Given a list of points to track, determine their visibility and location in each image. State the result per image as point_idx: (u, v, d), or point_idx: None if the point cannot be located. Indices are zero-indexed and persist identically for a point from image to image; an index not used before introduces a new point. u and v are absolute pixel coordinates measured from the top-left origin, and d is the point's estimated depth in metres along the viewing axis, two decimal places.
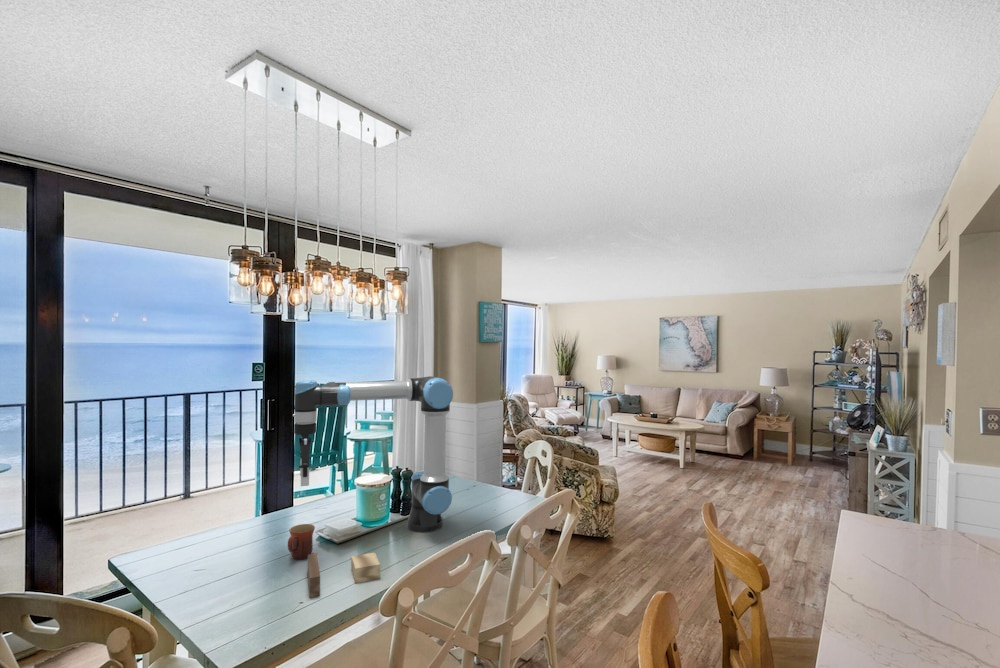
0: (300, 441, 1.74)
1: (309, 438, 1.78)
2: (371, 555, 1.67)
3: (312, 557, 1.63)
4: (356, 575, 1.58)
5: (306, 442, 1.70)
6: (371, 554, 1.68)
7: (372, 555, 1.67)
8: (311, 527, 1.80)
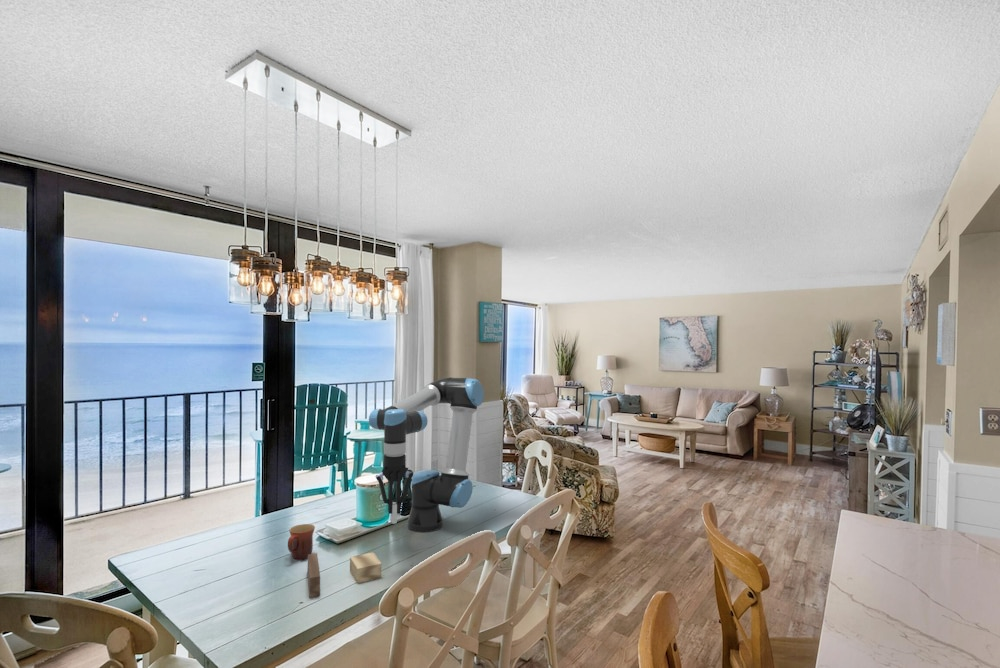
0: None
1: (398, 471, 1.67)
2: (370, 555, 1.67)
3: (312, 557, 1.63)
4: (358, 575, 1.57)
5: None
6: (369, 553, 1.69)
7: (371, 555, 1.67)
8: (311, 527, 1.80)
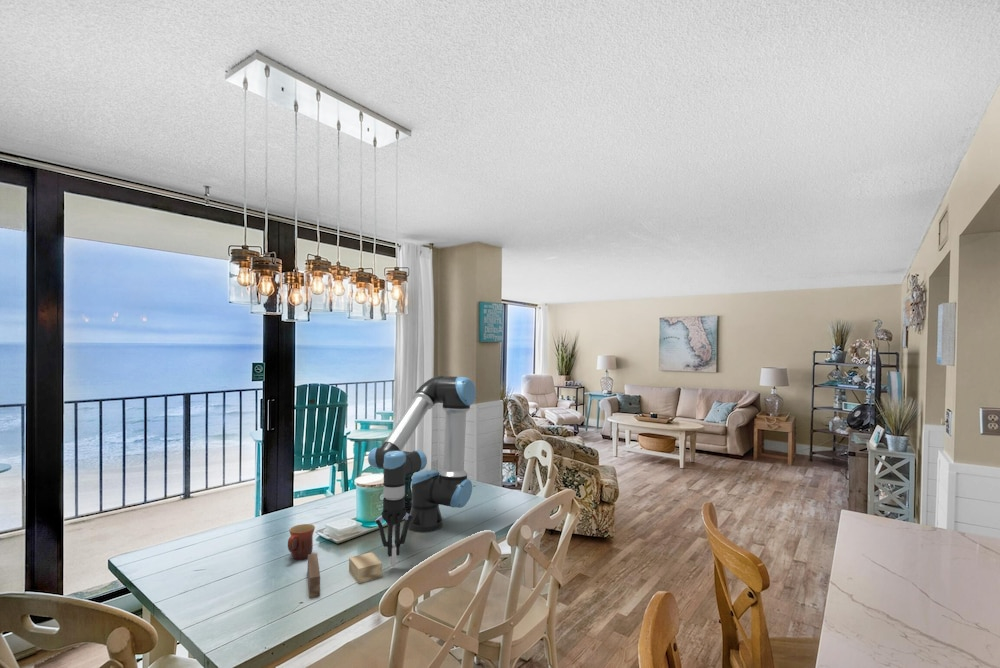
0: None
1: (398, 514, 1.67)
2: (369, 555, 1.67)
3: (312, 557, 1.63)
4: (359, 575, 1.57)
5: (377, 523, 1.65)
6: (368, 553, 1.69)
7: (370, 555, 1.67)
8: (311, 527, 1.80)
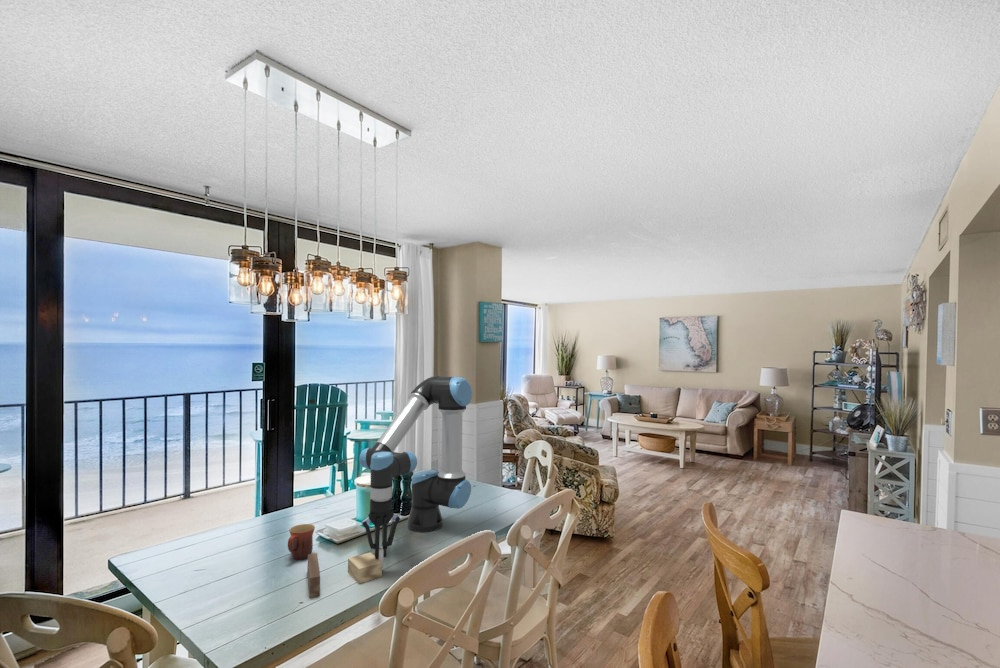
0: None
1: (385, 516, 1.65)
2: (368, 555, 1.67)
3: (312, 557, 1.63)
4: (360, 575, 1.57)
5: None
6: (367, 554, 1.68)
7: (369, 555, 1.67)
8: (311, 527, 1.80)
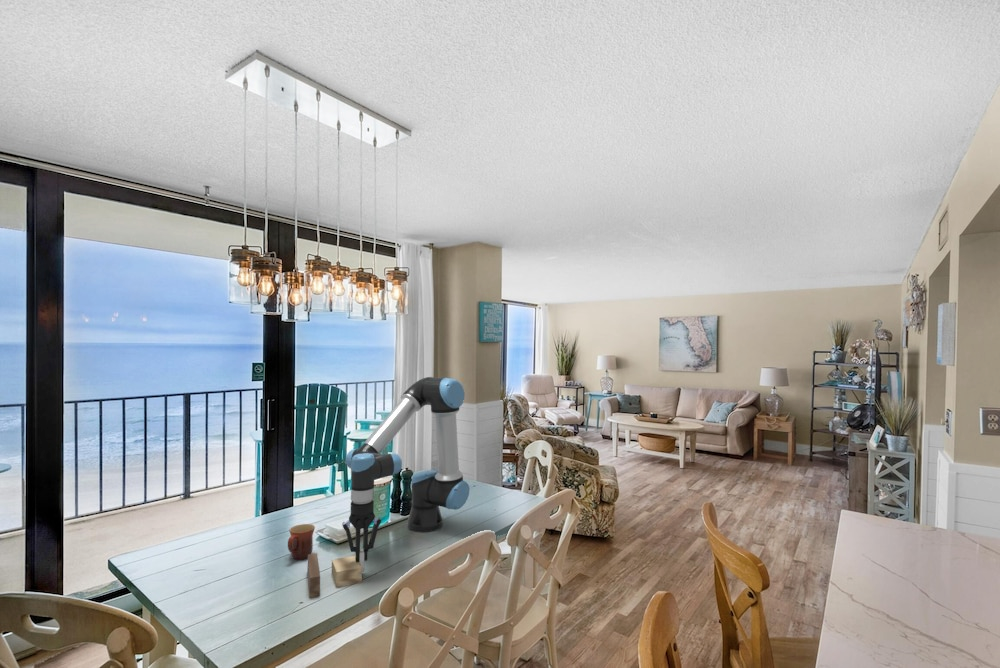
0: None
1: (366, 518, 1.62)
2: (352, 558, 1.65)
3: (312, 557, 1.63)
4: (337, 579, 1.55)
5: (344, 528, 1.61)
6: (352, 556, 1.66)
7: (353, 558, 1.64)
8: (311, 527, 1.80)
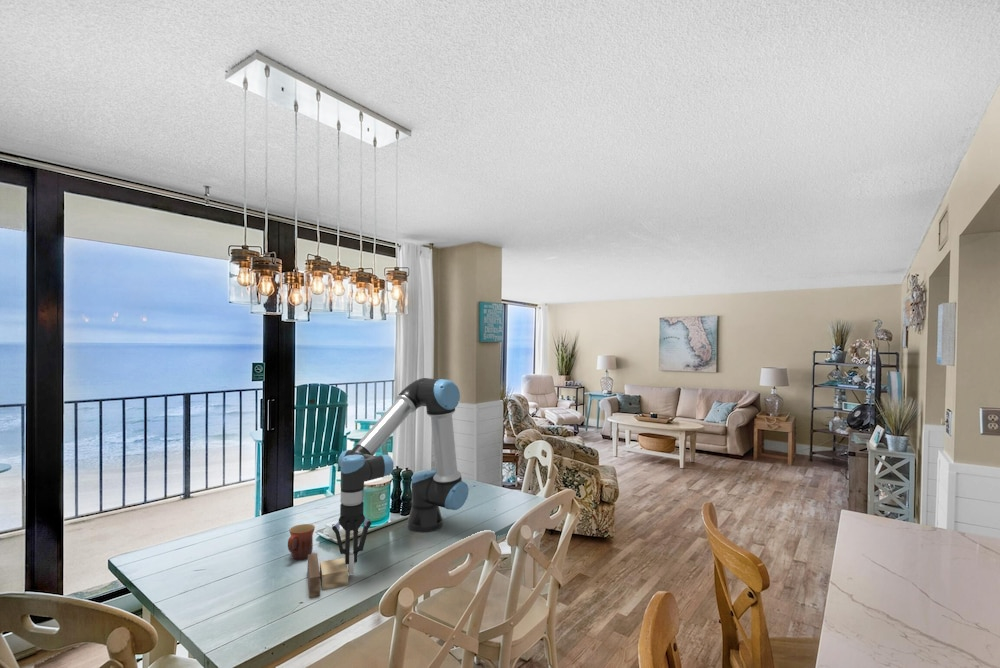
0: None
1: (355, 520, 1.61)
2: (340, 560, 1.63)
3: (312, 557, 1.63)
4: (323, 582, 1.53)
5: None
6: (340, 559, 1.64)
7: (341, 561, 1.63)
8: (311, 527, 1.80)
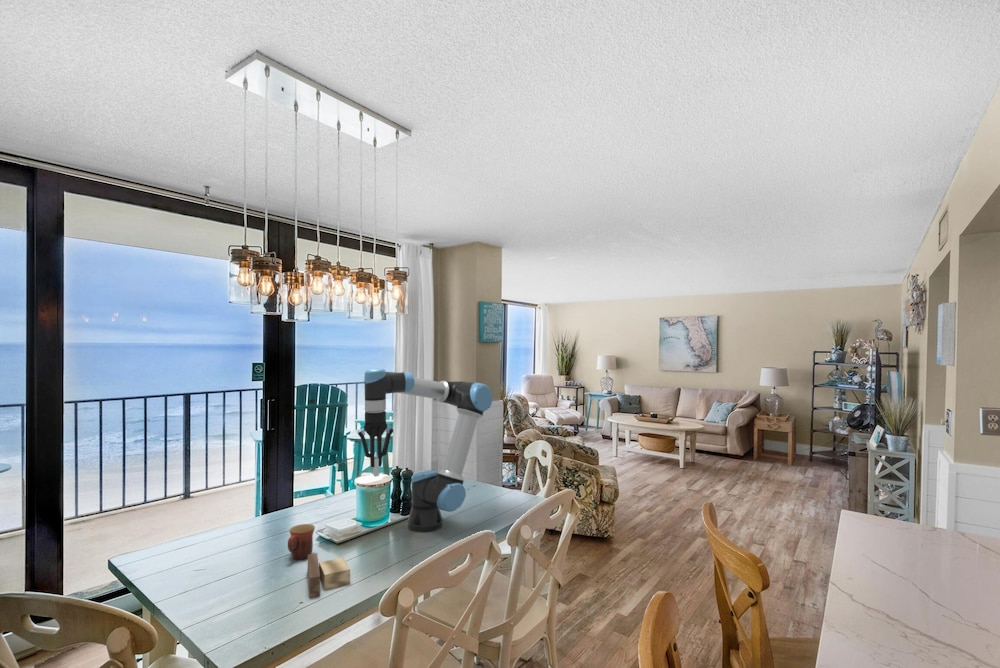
0: None
1: (379, 427, 1.75)
2: (340, 560, 1.63)
3: (312, 557, 1.63)
4: (325, 581, 1.53)
5: (359, 435, 1.74)
6: (340, 559, 1.64)
7: (341, 561, 1.63)
8: (311, 527, 1.80)
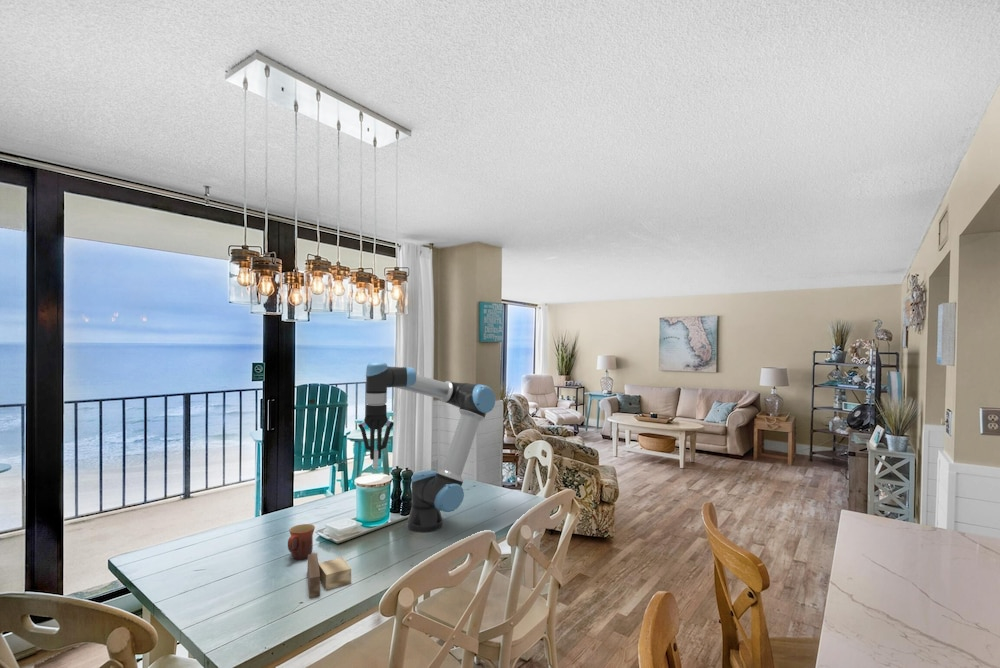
0: None
1: (379, 420, 1.78)
2: (339, 560, 1.63)
3: (312, 557, 1.63)
4: (327, 581, 1.53)
5: None
6: (338, 559, 1.64)
7: (340, 561, 1.63)
8: (311, 527, 1.80)
